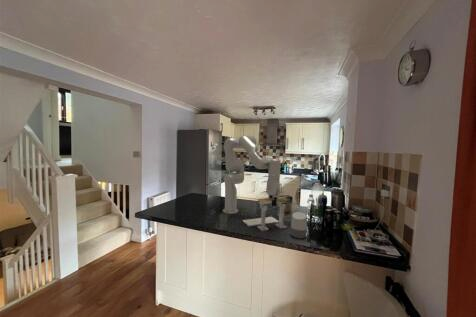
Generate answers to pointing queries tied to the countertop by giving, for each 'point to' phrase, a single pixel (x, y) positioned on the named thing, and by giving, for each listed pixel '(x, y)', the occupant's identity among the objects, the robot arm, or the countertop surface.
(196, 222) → the countertop surface
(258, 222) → the grey mat
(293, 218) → the smart speaker
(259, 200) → the beech rail
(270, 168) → the robot arm
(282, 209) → the metal standards
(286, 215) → the coffee box
